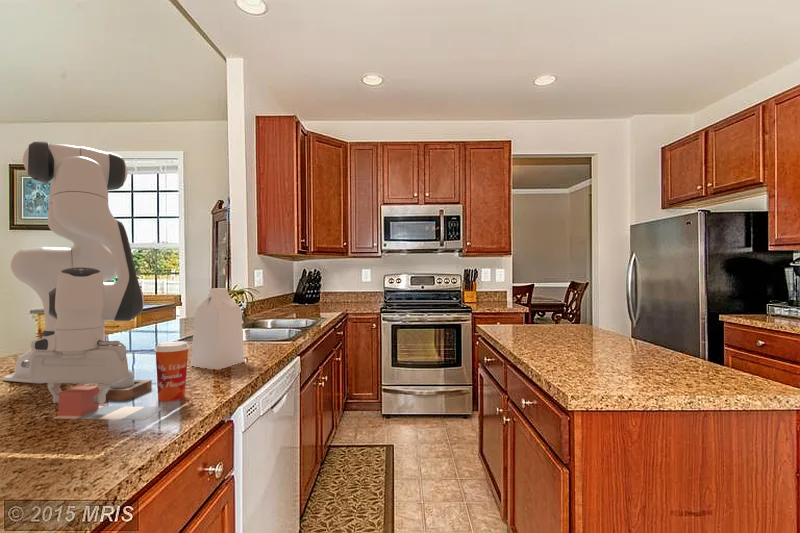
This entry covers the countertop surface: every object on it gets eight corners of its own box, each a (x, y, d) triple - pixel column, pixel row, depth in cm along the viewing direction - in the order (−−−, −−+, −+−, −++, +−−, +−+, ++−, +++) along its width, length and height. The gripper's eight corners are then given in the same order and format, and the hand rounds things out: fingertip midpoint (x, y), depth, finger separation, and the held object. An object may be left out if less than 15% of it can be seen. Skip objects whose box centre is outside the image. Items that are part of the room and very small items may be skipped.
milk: (217, 359, 147) (218, 287, 147) (243, 362, 143) (244, 288, 144) (190, 366, 136) (191, 288, 136) (217, 369, 132) (218, 289, 132)
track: (52, 420, 87) (52, 418, 87) (82, 408, 95) (82, 405, 95) (143, 422, 86) (143, 419, 86) (166, 409, 94) (166, 407, 94)
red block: (58, 415, 88) (58, 392, 89) (77, 407, 93) (77, 386, 94) (80, 416, 88) (81, 392, 88) (98, 408, 93) (98, 386, 93)
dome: (106, 396, 102) (106, 371, 102) (120, 391, 106) (120, 366, 106) (125, 397, 101) (125, 371, 101) (138, 391, 106) (138, 366, 106)
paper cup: (152, 406, 96) (153, 347, 96) (154, 397, 103) (155, 342, 103) (189, 402, 100) (190, 344, 100) (189, 393, 107) (190, 340, 107)
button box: (91, 401, 100) (91, 389, 100) (118, 391, 109) (118, 379, 109) (127, 402, 99) (127, 390, 99) (151, 391, 108) (151, 380, 108)
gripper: (135, 338, 94) (134, 398, 94) (49, 337, 94) (48, 397, 94) (115, 343, 87) (114, 407, 87) (23, 342, 88) (22, 406, 88)
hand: (79, 402), depth 91 cm, fingers open, 8 cm apart
